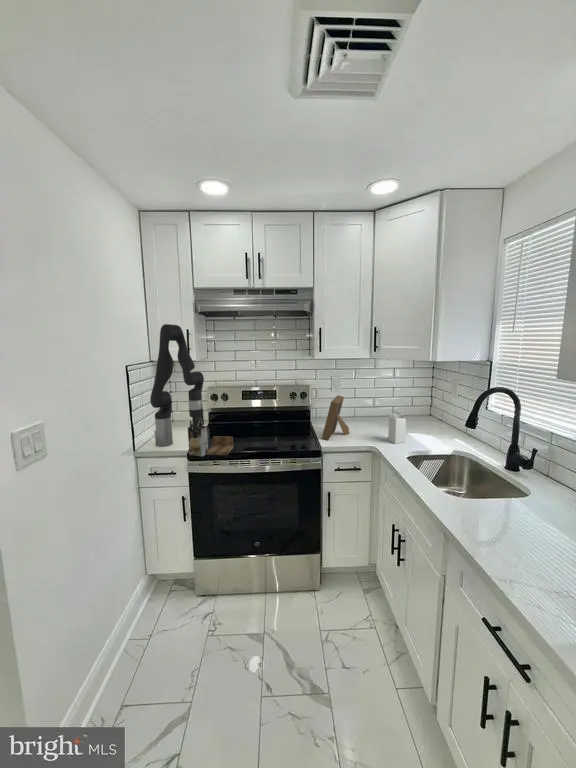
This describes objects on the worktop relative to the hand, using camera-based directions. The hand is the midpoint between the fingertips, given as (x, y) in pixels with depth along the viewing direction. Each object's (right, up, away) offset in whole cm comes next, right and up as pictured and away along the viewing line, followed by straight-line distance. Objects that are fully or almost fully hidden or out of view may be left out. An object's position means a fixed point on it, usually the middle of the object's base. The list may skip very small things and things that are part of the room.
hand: (198, 435), depth 183 cm
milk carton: (+117, -6, +16) cm, 119 cm away
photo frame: (+83, -5, +30) cm, 88 cm away
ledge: (+12, -10, +5) cm, 16 cm away
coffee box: (0, -11, +2) cm, 11 cm away
